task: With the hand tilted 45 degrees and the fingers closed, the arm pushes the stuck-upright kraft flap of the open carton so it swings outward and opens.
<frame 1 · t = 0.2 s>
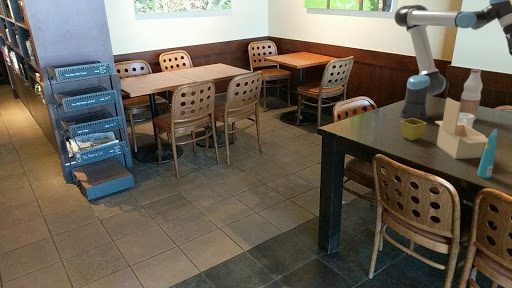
carton: (457, 151, 174), on the table
flap: (451, 115, 167), point 18 cm above the table, hinge at 0.0°
flower pot: (411, 138, 190), on the table
fruit juice: (466, 118, 217), on the table
tube: (483, 176, 151), on the table
mug: (461, 134, 194), on the table
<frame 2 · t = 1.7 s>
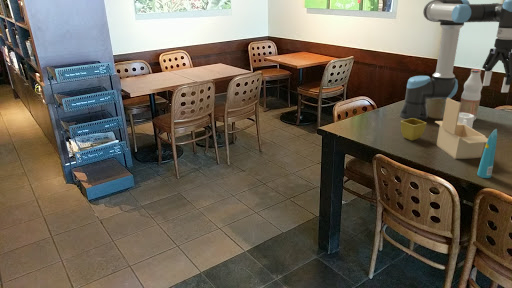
hand: (494, 88, 167), 28 cm above the table, tool pointing down, fingers open, 12 cm apart
nothing on the table moved.
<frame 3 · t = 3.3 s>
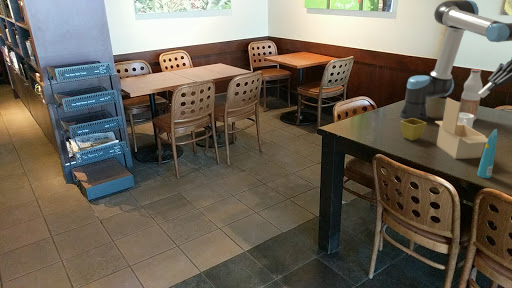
hand: (480, 95, 164), 26 cm above the table, tool tilted 45°, fingers closed
nothing on the table moved.
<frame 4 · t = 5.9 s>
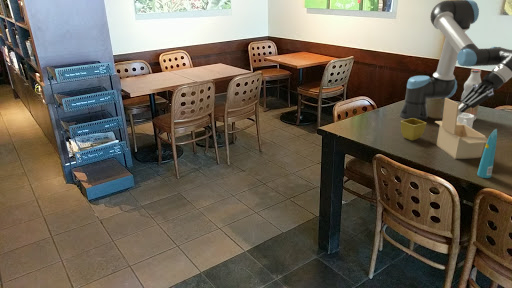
hand: (453, 116, 167), 17 cm above the table, tool tilted 45°, fingers closed
flap: (450, 116, 167), point 17 cm above the table, hinge at 3.6°, touching gripper
everything else where it was.
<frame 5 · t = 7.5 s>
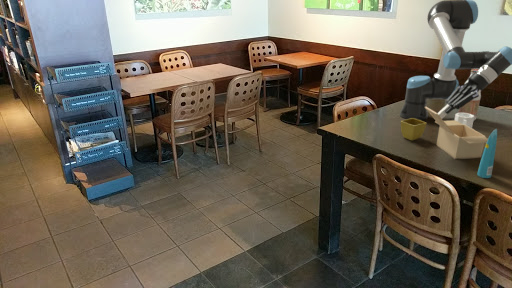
hand: (438, 117, 167), 17 cm above the table, tool tilted 45°, fingers closed
flap: (439, 120, 167), point 16 cm above the table, hinge at 43.3°, touching gripper
everything else where it was.
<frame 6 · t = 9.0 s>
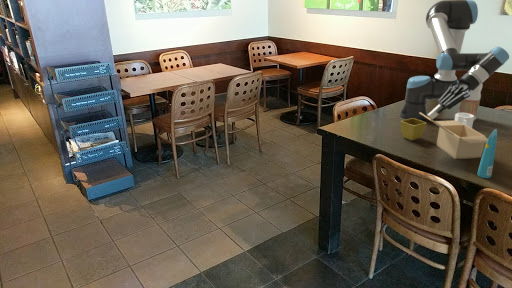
hand: (429, 117, 166), 17 cm above the table, tool tilted 45°, fingers closed
flap: (436, 123, 168), point 14 cm above the table, hinge at 56.9°, touching gripper
everything else where it was.
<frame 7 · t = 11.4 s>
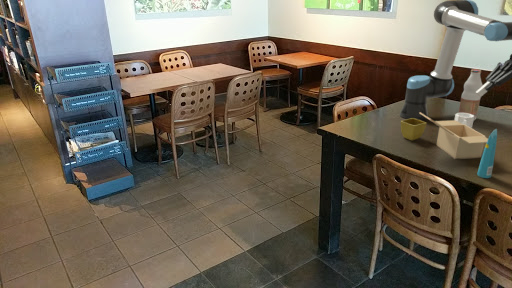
hand: (478, 94, 164), 27 cm above the table, tool tilted 45°, fingers closed
flap: (436, 123, 168), point 14 cm above the table, hinge at 57.0°
everything else where it was.
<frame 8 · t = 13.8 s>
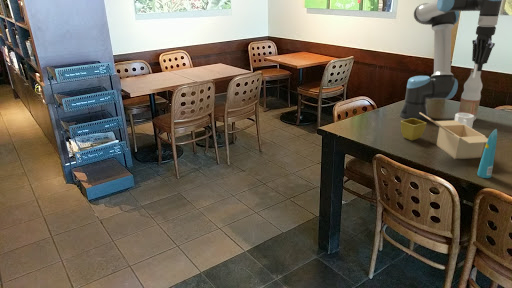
hand: (476, 77, 179), 30 cm above the table, tool pointing down, fingers closed
nothing on the table moved.
at the end: flap at +57° (first picture: +0°); the gripper is holding nothing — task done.
